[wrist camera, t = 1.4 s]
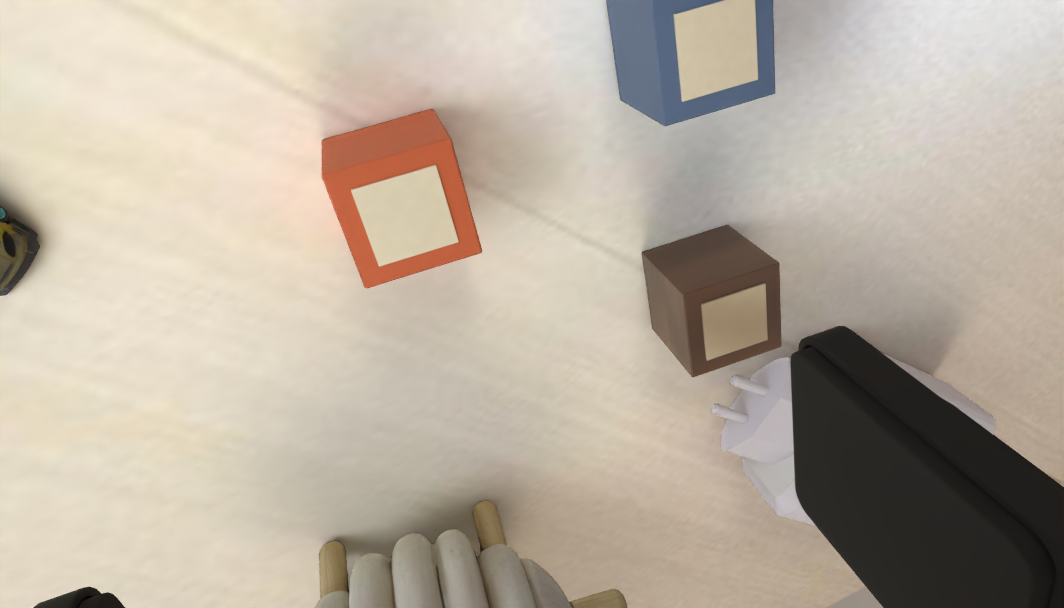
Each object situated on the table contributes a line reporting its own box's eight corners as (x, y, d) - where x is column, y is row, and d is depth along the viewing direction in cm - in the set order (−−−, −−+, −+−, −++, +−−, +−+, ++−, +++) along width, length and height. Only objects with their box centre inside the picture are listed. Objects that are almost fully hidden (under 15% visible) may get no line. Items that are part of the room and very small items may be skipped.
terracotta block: (320, 139, 25) (320, 175, 21) (433, 108, 26) (451, 138, 22) (359, 241, 27) (365, 290, 24) (462, 210, 28) (483, 254, 24)
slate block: (603, -14, 25) (651, -4, 22) (710, -43, 26) (774, -37, 22) (620, 100, 27) (665, 127, 24) (717, 72, 28) (777, 94, 24)
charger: (751, 288, 33) (937, 375, 40) (650, 436, 36) (839, 495, 43) (810, 338, 29) (1006, 426, 36) (691, 500, 32) (893, 554, 39)
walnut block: (641, 251, 31) (683, 295, 27) (727, 224, 31) (781, 263, 28) (652, 329, 33) (693, 379, 29) (733, 302, 33) (783, 348, 30)
